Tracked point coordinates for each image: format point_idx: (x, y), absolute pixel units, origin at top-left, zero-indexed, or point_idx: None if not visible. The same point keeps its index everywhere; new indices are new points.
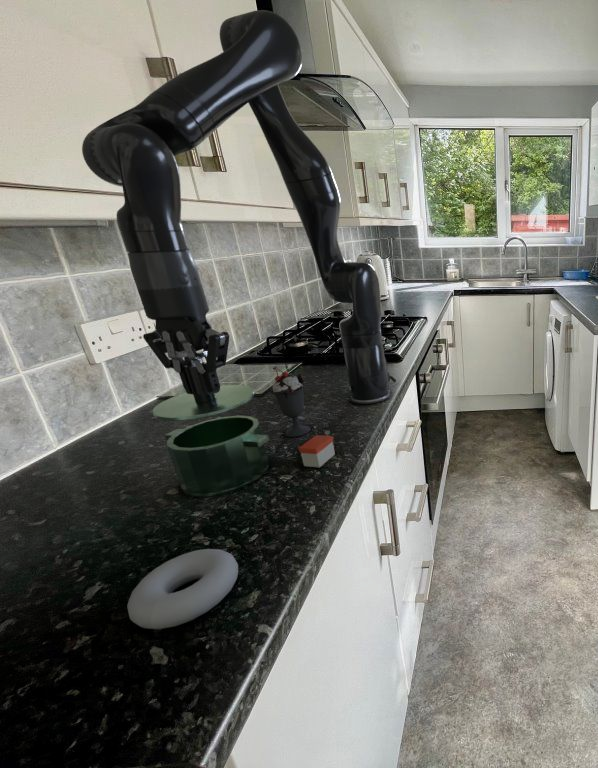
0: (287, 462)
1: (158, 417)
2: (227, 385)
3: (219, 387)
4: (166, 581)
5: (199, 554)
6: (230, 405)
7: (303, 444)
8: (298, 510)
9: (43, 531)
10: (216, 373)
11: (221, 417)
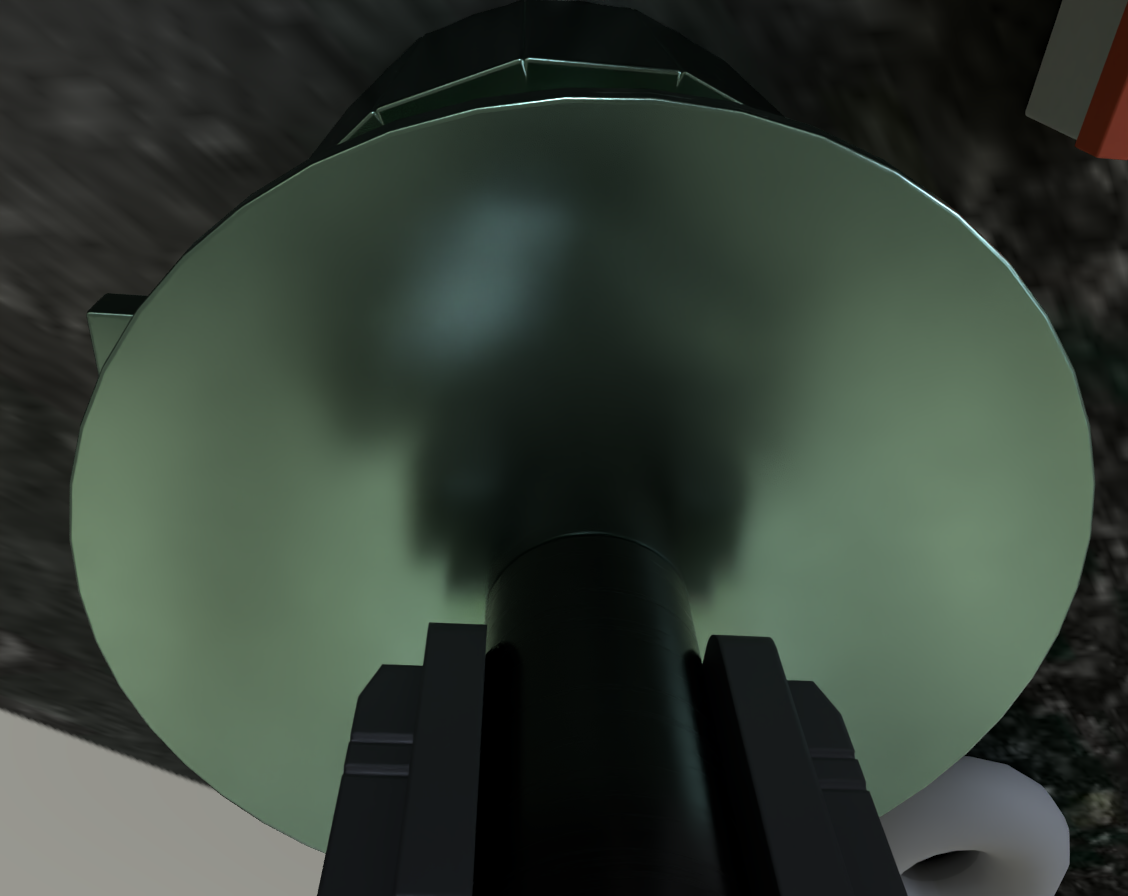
0: (878, 66)
1: None
2: (450, 131)
3: (822, 705)
4: None
5: (958, 847)
6: (977, 709)
7: (1120, 94)
8: (1121, 500)
9: (107, 683)
10: (905, 892)
11: (368, 127)
